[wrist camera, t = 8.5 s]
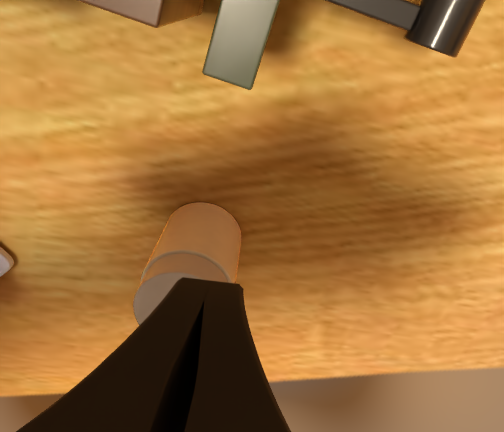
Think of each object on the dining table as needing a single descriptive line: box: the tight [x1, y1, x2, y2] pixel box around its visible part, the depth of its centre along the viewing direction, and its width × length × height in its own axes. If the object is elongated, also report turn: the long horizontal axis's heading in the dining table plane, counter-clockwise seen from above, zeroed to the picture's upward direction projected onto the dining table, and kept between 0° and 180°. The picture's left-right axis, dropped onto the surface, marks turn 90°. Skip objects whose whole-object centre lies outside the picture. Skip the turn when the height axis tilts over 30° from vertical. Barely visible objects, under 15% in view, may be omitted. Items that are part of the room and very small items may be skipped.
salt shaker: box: [133, 202, 242, 325], centre depth 18 cm, size 4×4×6 cm
